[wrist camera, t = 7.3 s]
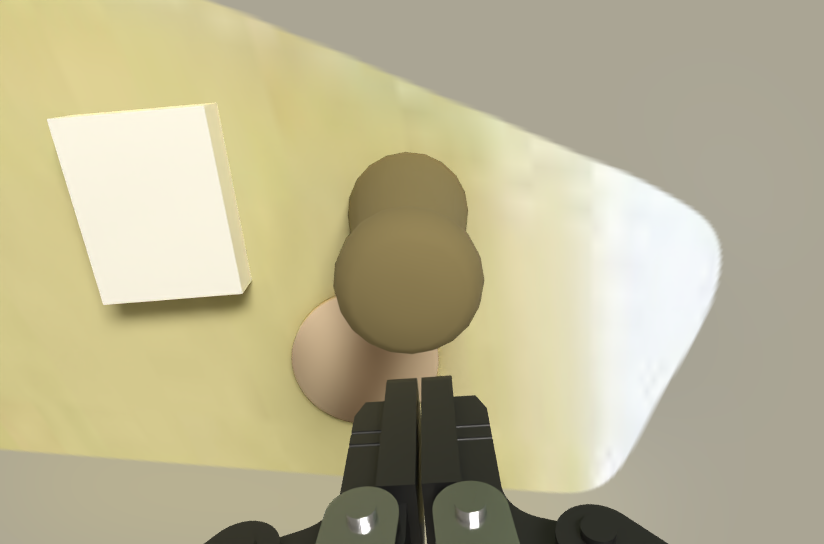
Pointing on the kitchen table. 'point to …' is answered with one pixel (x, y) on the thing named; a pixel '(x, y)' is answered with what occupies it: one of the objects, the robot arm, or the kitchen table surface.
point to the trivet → (348, 364)
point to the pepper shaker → (408, 256)
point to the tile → (154, 202)
